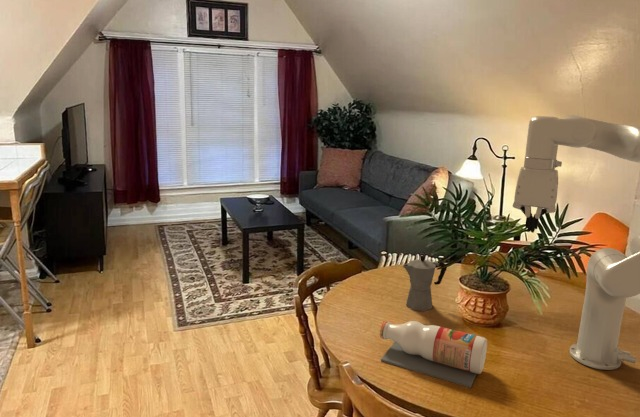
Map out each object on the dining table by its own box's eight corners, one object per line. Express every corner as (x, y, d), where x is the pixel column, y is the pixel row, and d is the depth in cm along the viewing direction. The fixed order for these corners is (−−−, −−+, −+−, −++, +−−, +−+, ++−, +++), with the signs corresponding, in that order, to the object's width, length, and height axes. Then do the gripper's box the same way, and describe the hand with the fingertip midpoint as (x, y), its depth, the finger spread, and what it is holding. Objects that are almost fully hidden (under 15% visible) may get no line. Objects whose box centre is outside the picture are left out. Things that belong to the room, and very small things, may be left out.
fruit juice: (482, 376, 128) (383, 348, 141) (489, 340, 131) (391, 316, 144) (478, 373, 120) (373, 343, 133) (485, 335, 123) (382, 310, 136)
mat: (483, 357, 135) (483, 356, 134) (470, 387, 121) (470, 385, 121) (401, 335, 146) (401, 333, 146) (380, 360, 132) (381, 358, 132)
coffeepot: (405, 312, 161) (408, 261, 156) (396, 300, 170) (399, 251, 165) (449, 310, 163) (453, 259, 159) (438, 298, 172) (442, 250, 168)
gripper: (571, 165, 127) (562, 231, 132) (511, 160, 134) (504, 223, 139) (570, 168, 121) (560, 239, 125) (507, 163, 128) (499, 230, 132)
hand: (530, 230), depth 132 cm, fingers closed
